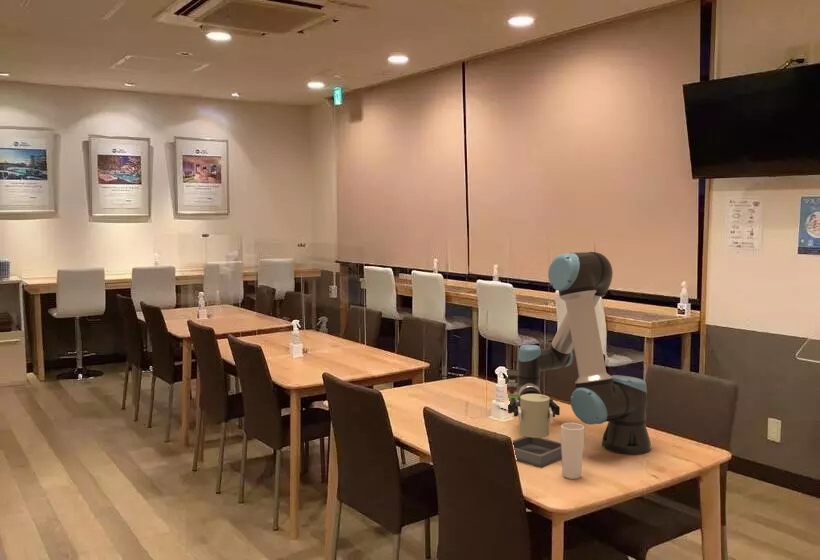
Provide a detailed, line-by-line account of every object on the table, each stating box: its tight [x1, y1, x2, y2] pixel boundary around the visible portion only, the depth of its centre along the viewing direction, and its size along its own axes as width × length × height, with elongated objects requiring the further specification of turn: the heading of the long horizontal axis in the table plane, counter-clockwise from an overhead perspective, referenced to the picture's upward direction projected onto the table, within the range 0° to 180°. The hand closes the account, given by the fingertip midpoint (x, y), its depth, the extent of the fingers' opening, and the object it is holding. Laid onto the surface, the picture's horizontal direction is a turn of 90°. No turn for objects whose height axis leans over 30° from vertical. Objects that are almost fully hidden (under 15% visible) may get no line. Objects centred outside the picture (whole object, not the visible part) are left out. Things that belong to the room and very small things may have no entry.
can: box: [518, 393, 551, 438], centre depth 231 cm, size 9×9×12 cm
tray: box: [512, 436, 562, 469], centre depth 231 cm, size 15×15×4 cm
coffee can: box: [506, 369, 519, 402], centre depth 286 cm, size 10×10×14 cm
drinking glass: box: [560, 422, 586, 480], centre depth 213 cm, size 7×7×15 cm
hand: (535, 417), depth 226 cm, fingers closed on can, 9 cm apart
